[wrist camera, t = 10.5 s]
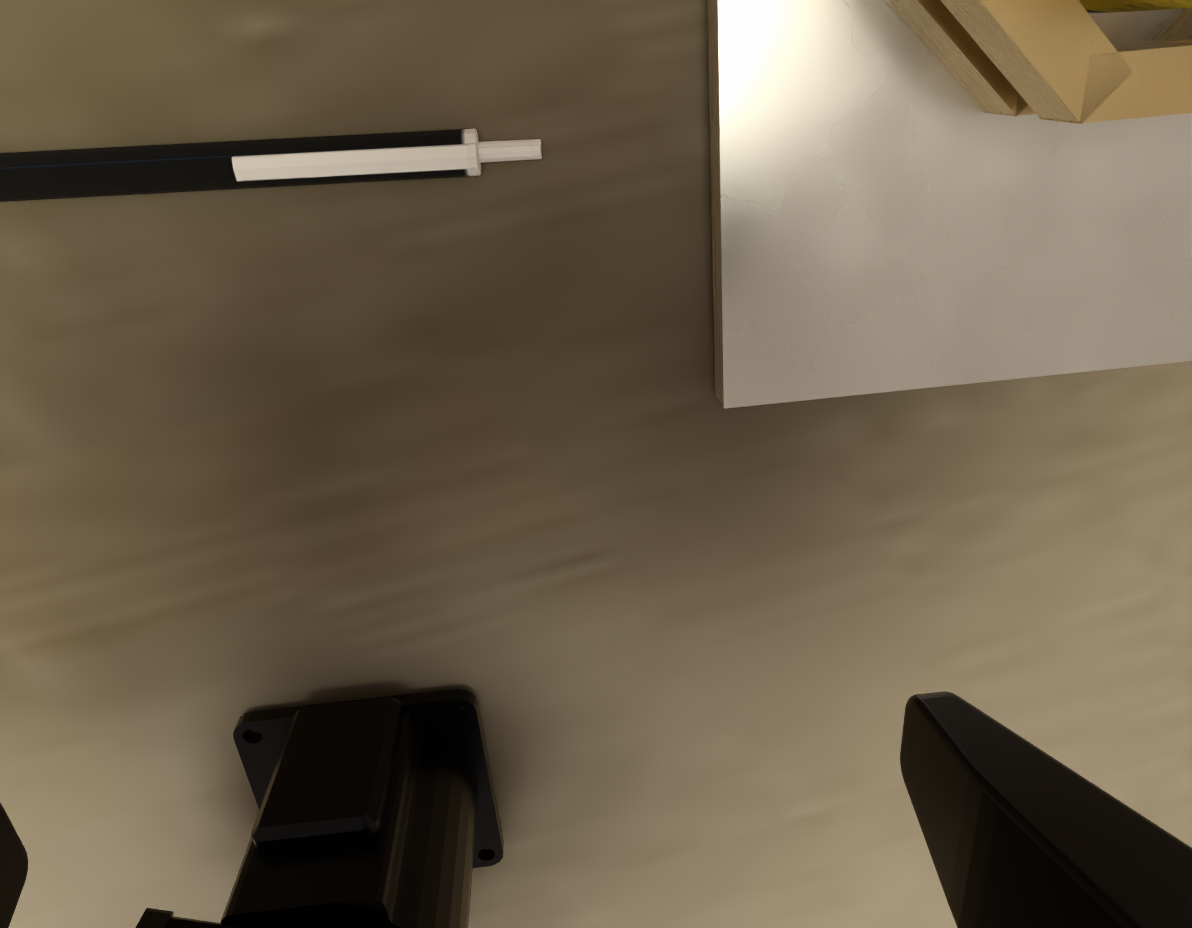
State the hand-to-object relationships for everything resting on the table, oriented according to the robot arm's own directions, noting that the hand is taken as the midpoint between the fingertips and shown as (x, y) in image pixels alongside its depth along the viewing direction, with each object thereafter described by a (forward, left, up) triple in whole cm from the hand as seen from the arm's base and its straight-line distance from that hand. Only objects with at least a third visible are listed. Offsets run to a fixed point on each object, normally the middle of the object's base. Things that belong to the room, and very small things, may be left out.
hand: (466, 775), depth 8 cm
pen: (+5, +8, -13) cm, 16 cm away
